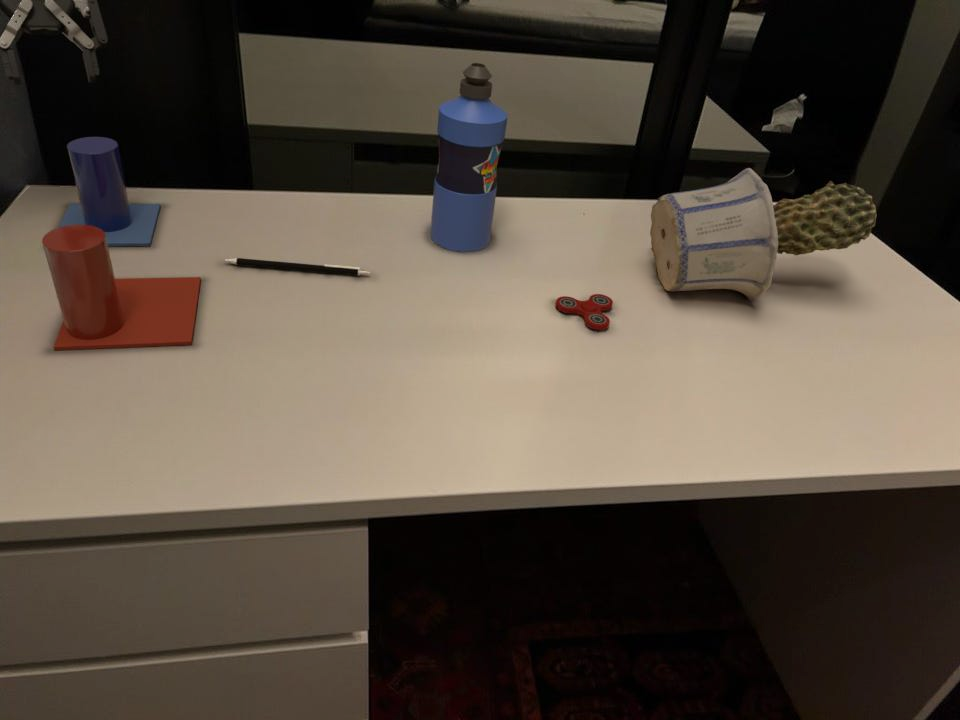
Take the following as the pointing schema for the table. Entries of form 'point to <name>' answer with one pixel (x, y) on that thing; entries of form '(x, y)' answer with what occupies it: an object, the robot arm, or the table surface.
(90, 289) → the red cylinder
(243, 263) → the pen
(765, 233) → the potted plant
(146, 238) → the blue mat
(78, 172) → the dark blue cylinder
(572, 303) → the fidget spinner
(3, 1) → the robot arm
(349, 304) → the table surface
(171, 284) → the red mat
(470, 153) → the water bottle
